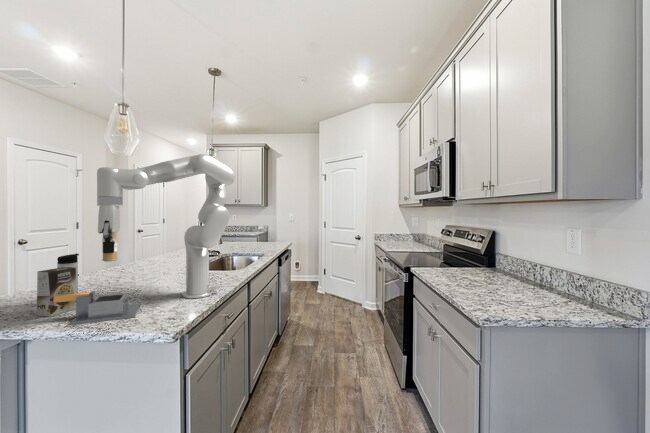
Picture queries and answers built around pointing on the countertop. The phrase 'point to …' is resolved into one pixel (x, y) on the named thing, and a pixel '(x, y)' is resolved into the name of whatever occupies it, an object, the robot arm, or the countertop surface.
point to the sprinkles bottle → (113, 256)
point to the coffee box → (55, 290)
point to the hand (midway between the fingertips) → (110, 251)
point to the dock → (104, 308)
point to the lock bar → (73, 296)
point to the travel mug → (69, 264)
